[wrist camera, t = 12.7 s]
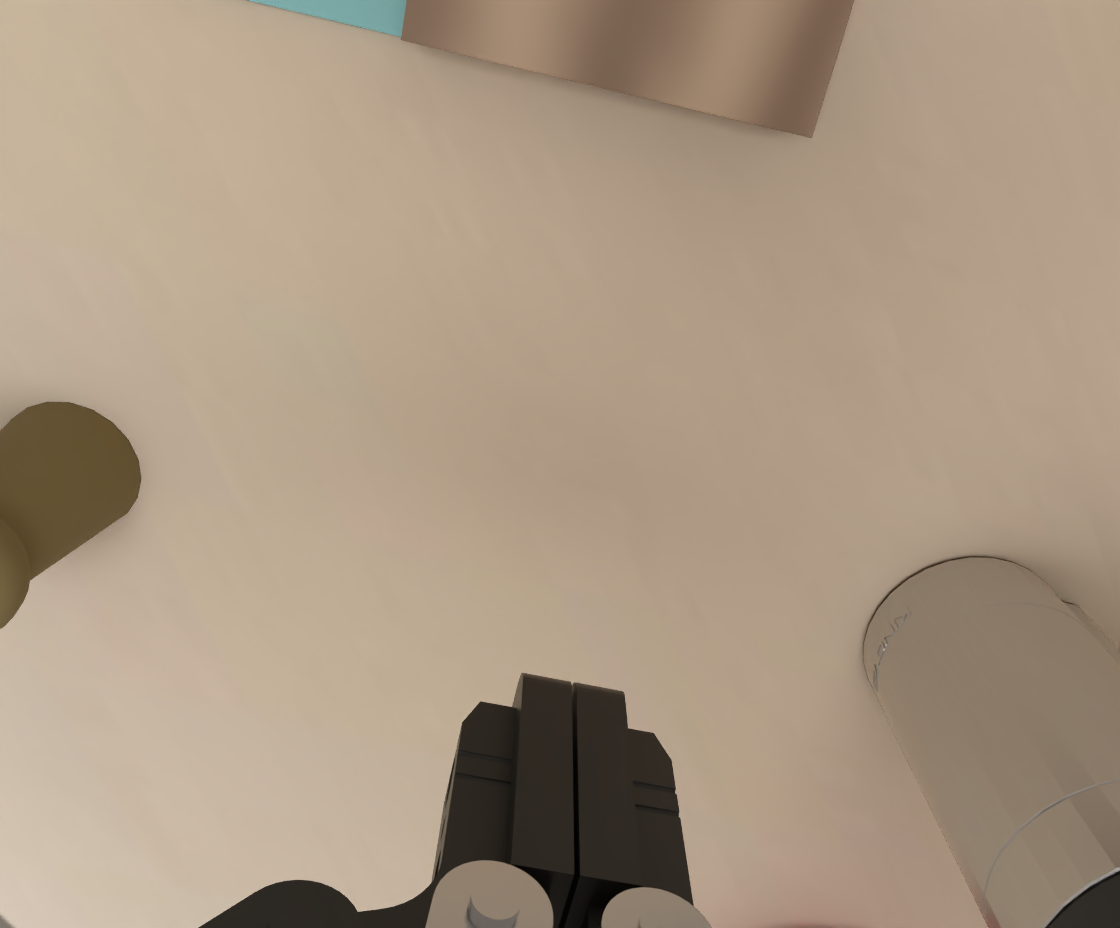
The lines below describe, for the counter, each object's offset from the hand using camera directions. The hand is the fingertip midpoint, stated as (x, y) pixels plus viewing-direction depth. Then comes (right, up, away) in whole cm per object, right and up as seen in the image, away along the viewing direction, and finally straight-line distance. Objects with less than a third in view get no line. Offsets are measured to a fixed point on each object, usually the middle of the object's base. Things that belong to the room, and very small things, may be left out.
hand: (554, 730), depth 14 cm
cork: (-21, +4, +28) cm, 35 cm away
